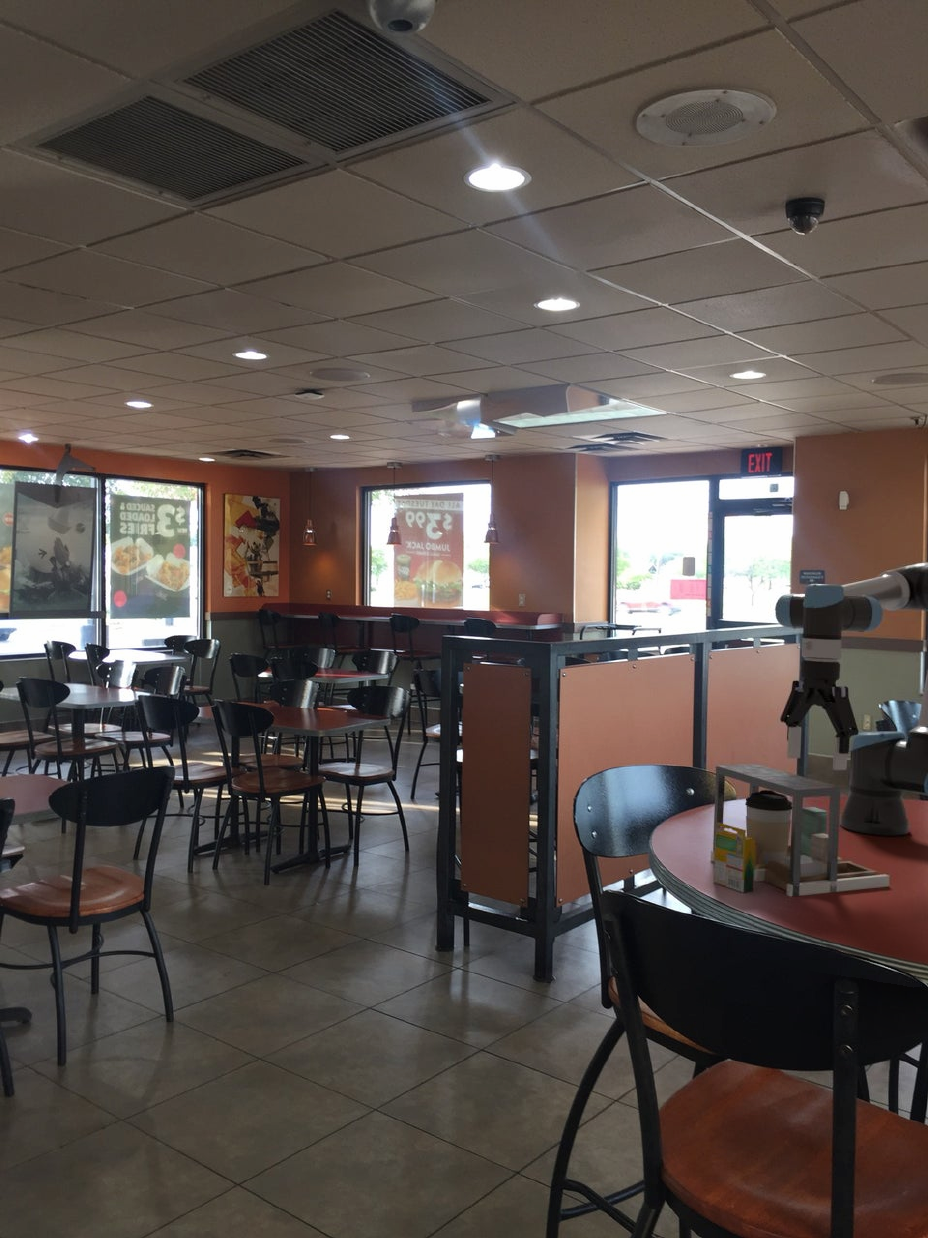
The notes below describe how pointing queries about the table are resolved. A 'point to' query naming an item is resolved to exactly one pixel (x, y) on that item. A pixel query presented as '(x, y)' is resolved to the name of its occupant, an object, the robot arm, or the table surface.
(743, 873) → the crayon box
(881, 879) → the lane rails
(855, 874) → the sled
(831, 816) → the shelf
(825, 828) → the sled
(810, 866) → the grey block
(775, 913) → the table surface
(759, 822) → the coffee cup
